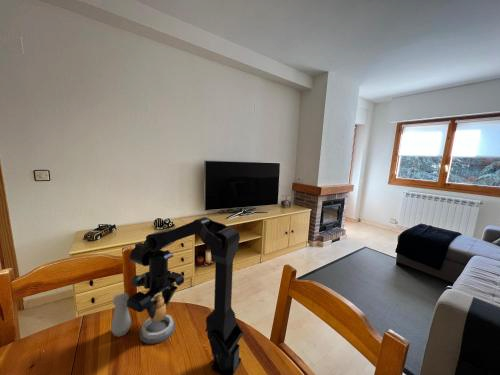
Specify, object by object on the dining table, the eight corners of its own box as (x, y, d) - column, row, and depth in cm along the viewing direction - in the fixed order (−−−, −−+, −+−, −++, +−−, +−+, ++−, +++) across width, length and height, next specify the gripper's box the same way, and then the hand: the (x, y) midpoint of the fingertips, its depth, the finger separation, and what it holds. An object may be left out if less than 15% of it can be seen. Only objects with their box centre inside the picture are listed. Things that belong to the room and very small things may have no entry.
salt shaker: (135, 326, 73) (135, 291, 72) (123, 340, 68) (123, 302, 66) (119, 324, 74) (118, 289, 73) (106, 337, 68) (105, 299, 67)
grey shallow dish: (181, 325, 75) (182, 319, 75) (156, 349, 65) (156, 342, 65) (158, 315, 79) (159, 308, 79) (132, 335, 69) (131, 328, 69)
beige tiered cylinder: (168, 314, 73) (169, 295, 72) (157, 323, 68) (157, 303, 68) (158, 309, 75) (158, 291, 74) (147, 318, 70) (147, 299, 70)
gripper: (162, 253, 82) (162, 291, 83) (114, 275, 65) (115, 322, 66) (185, 260, 77) (184, 300, 79) (140, 285, 60) (140, 336, 62)
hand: (158, 313), depth 72 cm, fingers closed on beige tiered cylinder, 5 cm apart
